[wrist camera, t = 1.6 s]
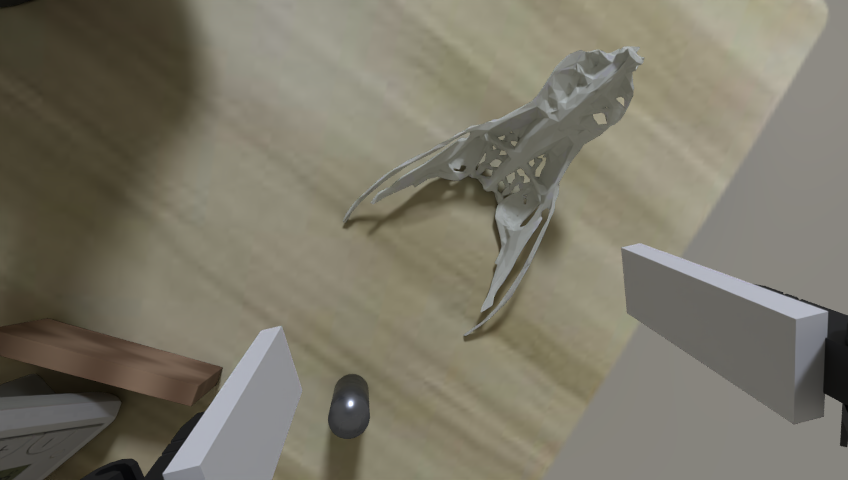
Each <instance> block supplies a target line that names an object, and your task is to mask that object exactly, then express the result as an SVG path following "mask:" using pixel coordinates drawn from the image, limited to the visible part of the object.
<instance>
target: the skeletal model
mask: <svg viewBox="0 0 848 480" xmlns="http://www.w3.org/2000/svg"><path fill="white" fill-rule="evenodd" d="M639 48H640V47H623V48H622V49H621V50H620V49H618V50H616V51H614V52H612V53H605V52H604V51H602V50H601V51H600V50H594V51H591V52H584V51H582V50H579V51H576V52H574V53H571V54H569V55H568V56H566V57H565V58H564V59H563V60H562V61H561V62H560V63H559V64H558V65H557V66H556V67H555V69H554V70H553V72H552V74H551V75H550V77H549V78H548V80H547V82H546V83H545V85H544V86H543V88H542V89H541V91H540V92H539V94H538V95H537V96H536V97H535V98H534V99H533V101H531V102H529V103H527V104H526V105H524V106H522V107H520V108H518V109H516V110H514V111H513V112H511V113H509V114H507V115H505V116H504V117H502V118H500V119H497V120H492V121H489V122H486V123H484V124H481V125H474V126H470V127H469V128H467V129H466V130H464V131H462V132H460V133H458V134H456V135H455V136H453V137H452V138H450V139H449V140H447V141H445V142H442V143H440V144H438V145H437V146H435V147H434V148H433V149H431V150H430V151H428V152H425V153H422V154H420V155H417V156H416V157H414V158H412V159H410V160H408V161H406V162H404V163H403V164H401V165H399V166H398V167H396V168H395V169H393V170H392V171H390V172H388V173H387V174H385V175H384V176H383V177H382V178H380V179H379V180H378V181H377V182H376V183H374V184H373V185H372V186H371V187H370V188H369V189H368V190H367V191H366V192H365V193H364V194H363V195H361V196H360V197H359V198H358V199H357V200H356V201H355V202H354V204H353V205H352V206H351V208H350V209H349V210H348V212H347V213H346V215H345V218H344V220H343V222H345V223H346V222H347V220H348V218H349V216H350V214H351V213H352V211H353V210H354V209H355V208H356V207H357V206H358V205H359V203H360V202H361V201H362V200H363V199H364V198H365V197H366V196H367V195H369V194H370V193H371V192H372V191H373V190H375V189H376V188H377V187H378V186H380V185H381V184H382V183H383V182H384V181H386V180H387V179H389V178H390V177H392V176H393V175H395V174H396V173H398V172H399V171H401V170H402V169H403V168H405V167H406V166H408V165H409V164H411V163H413V162H415V161H417V160H419V159H421V158H423V157H425V156H427V155H429V154H431V153H433V152H435V151H437V150H438V149H440V148H442V147H444V146H445V145H447V144H448V143H450V142H451V141H453V140H454V139H456V138H458V137H460V136H462V135H464V134H466V133H467V132H470V135H469V137H467V138H460V139H458V140H457V141H455V142H454V143H452V144H451V145H450V146H448V147H447V148H446V149H444V150H443V151H442V152H440V153H439V154H437V155H436V156H434V157H433V158H431V159H430V160H428V161H427V162H425V163H424V164H422V165H421V166H419V167H417V168H415V169H413V170H411V171H410V172H409V173H407V174H406V175H404V176H403V177H401V178H400V179H398V180H397V181H396V182H395V183H394V184H393V185H391V186H390V187H389V188H386V189H384V190H382V191H380V192H378V194H377V195H376V196H375V198H374V199H373V200H372V202H371V203H372V204H375V203H376V202H378V201H380V200H381V199H383V198H384V197H387V196H389V195H391V194H393V193H395V192H397V191H399V190H402V189H404V188H406V187H409V186H411V185H413V186H414V187H416V186H418V185H419V184H421V183H422V182H424V181H426V180H427V179H430V178H434V177H441V178H444V179H448V180H453V181H458V180H462V179H463V178H465V177H467V176H470V177H472V178H475V179H478V180H479V181H480V182H481V183H482V185H483V188H484V190H486V191H493V192H495V198H496V200H497V203H498V206H497V209H496V214H495V220H496V223H497V227H498V231H499V234H500V239H501V246H502V248H501V250H500V253H499V256H498V258H497V260H496V261H495V263H496V264H497V268H496V271H495V274H494V277H493V280H492V284H491V287H490V290H489V293H488V296H487V298H486V300H485V302H484V304H483V306H482V308H481V312H483V311H485V310H486V309H488V308H490V307H491V306H492V305H493V300H494V296H495V294H496V292H497V290H498V289H499V288H500V286H501V285H502V284H503V282H504V281H505V279H506V278H507V276H508V274H509V273H510V271H511V269H512V267H513V265H514V263H515V261H516V260H517V258H518V256H519V254H520V252H521V251H522V249H523V247H524V246H525V244H526V243H527V241H528V240H529V238H530V237H531V235H532V234H533V233H534V231H535V230H536V228H537V227H538V225H539V224H540V222H541V220H542V211H543V210H544V209H546V208H548V209H549V215H548V219H547V221H546V223H545V225H544V226H543V228H542V230H541V232H540V234H539V236H538V238H537V240H536V242H535V245H534V247H533V249H532V251H531V253H530V255H529V257H528V259H527V261H526V263H525V265H524V266H523V268H522V270H521V272H520V274H519V275H518V277H517V278H516V280H515V281H514V283H513V284H512V286H511V287H510V289H509V290H508V292H507V293H506V295H505V296H504V298H503V299H502V301H501V302H500V303H499V305H498V306H497V307H496V308H495V309H494V310H493V311H492V312H491V313H490V314H489V315H488V316H487V317H486V318H485V319H484V320H483V321H482V322H481V323H480V324H478V325H477V326H475V327H474V328H472V329H471V330H470V331H468V332H467V333H465V334H464V336H467V335H468V334H470V333H471V332H473V331H474V330H475V329H477V328H478V327H480V326H481V325H483V324H484V323H485V322H487V321H488V320H489V319H490V318H491V317H492V316H493V315H494V314H495V313H496V312H497V311H498V310H499V309H500V308H501V307H502V306H504V304H505V303H506V302H507V301H508V300H509V299H510V298H511V297H512V295H513V293H514V292H515V290H516V288H517V286H518V285H519V283H520V281H521V279H522V277H523V276H524V274H525V272H526V270H527V269H528V267H529V265H530V263H531V261H532V259H533V257H534V255H535V253H536V251H537V248H538V246H539V244H540V242H541V240H542V238H543V236H544V234H545V231H546V229H547V226H548V224H549V221H550V219H551V216H552V214H553V212H554V210H555V201H556V199H557V196H558V193H559V182H560V180H561V178H562V176H563V174H564V173H565V171H566V169H567V168H568V166H569V165H570V163H571V161H572V160H573V159H574V157H575V156H576V155H577V154H578V152H579V151H580V150H581V148H582V147H583V145H584V144H586V143H587V142H589V141H591V140H593V139H594V138H596V137H598V136H600V135H601V134H602V133H603V132H604V131H606V130H607V129H608V128H609V127H610V126H612V125H614V124H616V123H617V122H618V121H619V120H621V118H622V117H623V115H624V114H625V112H626V110H627V108H628V106H629V104H630V101H631V99H632V97H633V90H634V86H633V76H632V72H633V71H636V69H637V67H638V66H639V65H641V64H642V63H643V60H644V58H643V57H641V56H638V55H637V53H636V52H637V51H638V49H639ZM618 97H622V98H624V106H623V105H622V104H620V103H619V102H618V101H617V100H616V98H618ZM606 106H607V108H606ZM597 113H604V114H605V117H606V121H607V124H601V125H598V124H597V122H596V121H595V120H594V118H593V114H597ZM511 131H512V132H513V133H510V132H511ZM503 135H505V136H506V137H505V138H504V140H499V139H498V137H500V136H503ZM510 141H516V142H518V143H517V144H516V146H513V145H512V144H511V142H510ZM493 145H494V146H495V147H496V149H495V150H493ZM501 150H504V151H506V153H507V155H499V154H500V151H501ZM485 153H486V157H485V161H484V162H482V163H481V164H479V167H478V169H477V170H476V171H475V169H476V167H477V164H478V163H479V162H480V160H481V159H482V157H483V155H484V154H485ZM543 154H545V155H544V156H543V157H546V163H545V166H544V168H543V169H542V171H541V174H540V177H535V171H536V168H537V167H538V166H539V165H540V163H541V162H542V158H537V157H538V156H540V155H543ZM495 159H498V160H501V161H502V163H501V164H500V165H499V167H492V166H491V165H490V164H489V163H491V162H492V161H493V160H495ZM533 159H534V162H535V164H534V165H533V166H532V167H531V166H530V165H529V163H528V162H529V161H531V160H533ZM461 165H465V166H466V169H465V170H464V171H463V172H459V171H454V169H453V168H456V169H460V167H461ZM519 168H521V169H522V170H524V172H525V174H526V175H527V176H528V177H529V178H530V182H528V183H523V181H524V177H523V176H520V175H519V174H518V173H517V170H518V169H519ZM485 169H489V170H493V172H492V176H488V177H485V176H483V175H481V174H482V172H483V171H484V170H485ZM513 172H515V179H514V180H513V182H512V183H511V184H510V183H508V181H507V178H506V176H507V175H509V174H511V173H513ZM499 181H503V183H504V185H505V189H504V190H503V192H502V194H501V193H500V192H499V191H498V183H499ZM518 184H519V188H520V191H518V192H517V193H513V194H511V195H509V196H508V197H506V198H505V199H503V196H505V195H508V194H510V193H511V191H512V190H513V188H514V187H515V186H517V185H518ZM524 195H527V196H524ZM524 198H525V199H527V202H526V204H524ZM538 206H539V207H538ZM537 207H538V209H537V211H536V212H535V214H534V216H533V217H532V218H531V219H530V221H529V222H528V223H527V224H526V225H525V226H522V227H520V225H521V224H522V222H523V221H524V220H525V219H526V218H527V217H528V216H529V215H530V214H531V213H532V212H533V211H534V210H535V209H536V208H537ZM517 216H518V217H517ZM505 232H506V233H505Z"/></svg>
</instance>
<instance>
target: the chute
mask: <svg viewBox="0 0 848 480" xmlns="http://www.w3.org/2000/svg"><path fill="white" fill-rule="evenodd" d="M0 356H3V357H7V358H10V359H14V360H18V361H22V362H25V363H29V364H33V365H37V366H41V367H44V368H48V369H52V370H56V371H59V372H63V373H67V374H71V375H74V376H78V377H82V378H86V379H90V380H93V381H97V382H101V383H105V384H108V385H112V386H116V387H120V388H124V389H127V390H131V391H135V392H139V393H142V394H146V395H150V396H154V397H157V398H161V399H165V400H169V401H173V402H176V403H180V404H184V405H188V406H192V405H193V404H194V403H195V402H197V401H198V400H199V399H200V398H201V397H202V396H204V395H205V394H206V393H207V392H208V391H210V390H211V389H212V388H213V387H214V386H215V385H216V384H217V381H218V379H219V376H220V373H221V371H222V368H223V367H219V366H216V365H212V364H208V363H205V362H201V361H198V360H194V359H191V358H187V357H183V356H180V355H176V354H173V353H169V352H166V351H162V350H158V349H155V348H151V347H148V346H144V345H141V344H137V343H134V342H130V341H126V340H123V339H119V338H116V337H112V336H109V335H105V334H101V333H98V332H94V331H91V330H87V329H84V328H80V327H76V326H73V325H69V324H66V323H62V322H59V321H55V320H51V319H48V318H47V319H41V320H36V321H30V322H24V323H19V324H13V325H8V326H2V327H0Z"/></svg>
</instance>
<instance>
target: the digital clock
mask: <svg viewBox="0 0 848 480" xmlns="http://www.w3.org/2000/svg"><path fill="white" fill-rule="evenodd" d="M120 405H121V401H120V399H119V398H118V397H117V396H115V395H113V394H109V393H105V392H84V393H67V394H56V393H55V392H54V391H53V390H52V389H51V388H50V387H49V386H48V385H47V384H46V383H45V382H44V381H43V380H42V378H41V377H40V376H38V375H37V374H30V375H27V376H25V377H22V378H19V379H16V380H13V381H10V382H7V383H4V384H1V385H0V480H43V479H44V478H46V477H47V476H48V475H49V474H51V473H52V472H53V471H54V470H55V469H57V468H58V467H59V466H60V465H61V464H63V463H64V462H65V461H66V460H67V459H69V458H70V457H71V456H72V455H73V454H75V453H76V452H77V451H78V450H79V449H81V448H82V447H83V446H84V445H86V444H87V443H88V442H89V441H90V440H92V439H93V438H94V437H95V436H96V435H98V434H99V433H100V432H101V431H102V430H103V429H105V428H106V427H107V426H108V425H109V424H110V423H112V422H113V421H114V420H115V418H116V416H117V413H118V411H119V408H120Z"/></svg>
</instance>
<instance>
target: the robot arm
mask: <svg viewBox="0 0 848 480" xmlns="http://www.w3.org/2000/svg"><path fill="white" fill-rule="evenodd" d="M27 1H30V0H0V7H7V6H12V5H17V4H21V3H24V2H27ZM621 251H622V262H623V273H624V284H625V296H626V307H627V313H628V314H629V315H631V316H632V317H634V318H635V319H637V320H638V321H640V322H641V323H643V324H644V325H646V326H647V327H649V328H650V329H652V330H654V331H655V332H657V333H658V334H659V335H661V336H662V337H664V338H665V339H667V340H668V341H670V342H671V343H673V344H674V345H676V346H677V347H679V348H680V349H682V350H683V351H685V352H686V353H688V354H689V355H691V356H692V357H694V358H695V359H697V360H698V361H700V362H701V363H703V364H704V365H706V366H707V367H709V368H710V369H712V370H713V371H715V372H716V373H718V374H719V375H721V376H722V377H724V378H725V379H727V380H728V381H730V382H731V383H733V384H734V385H736V386H737V387H739V388H740V389H742V390H743V391H745V392H746V393H748V394H749V395H751V396H752V397H753V398H755V399H756V400H758V401H760V402H761V403H763V404H764V405H765V406H767V407H768V408H770V409H771V410H773V411H774V412H776V413H778V414H779V415H780V416H782V417H783V418H785V419H786V420H788V421H789V422H791V423H792V424H798V423H801V422H805V421H809V420H813V419H817V418H821V417H824V399H825V394H827V395H829V396H830V397H832V398H834V399H836V400H838V401H840V402H841V403H843V405H842V422H841V423H842V424H841V440H840V446H844V447H847V444H848V315H845V314H842V313H839V312H836V311H834V310H831V309H828V308H825V307H822V306H819V305H817V304H814V303H811V302H808V301H805V300H803V299H801V300H799V299H798V298H797V297H794V296H791V295H789V294H783V292H780V291H777V290H775V289H772V288H769V287H766V286H761V285H756V284H751V283H748V282H746V281H743V280H740V279H737V278H734V277H731V276H729V275H726V274H724V273H721V272H718V271H715V270H713V269H710V268H707V267H704V266H701V265H699V264H696V263H693V262H690V261H688V260H685V259H682V258H679V257H677V256H674V255H671V254H668V253H666V252H663V251H660V250H657V249H655V248H652V247H649V246H646V245H644V244H641V243H639V244H635V245H631V246H626V247H622V248H621ZM301 393H302V388H301V385H300V382H299V378H298V375H297V372H296V369H295V366H294V363H293V359H292V356H291V353H290V350H289V347H288V344H287V341H286V337H285V334H284V331H283V328H282V326H279V327H274V328H270V329H266V330H261V331H260V333H259V334H258V336H257V337H256V339H255V340H254V342H253V343H252V345H251V346H250V347H249V349H248V350H247V352H246V353H245V355H244V356H243V358H242V359H241V361H240V362H239V363H238V365H237V366H236V368H235V369H234V371H233V372H232V374H231V375H230V377H229V378H228V379H227V381H226V382H225V384H224V385H223V387H222V388H221V390H220V391H219V393H218V394H217V395H216V397H215V398H214V400H213V401H212V403H211V404H210V406H209V407H208V409H207V410H206V411H205V412H201V413H197V414H196V415H195V416H194V417H193V418H191V419H190V420H189V421H188V422H187V423H186V424H185V425H183V426H182V427H181V428H180V430H179V431H178V432H177V434H176V435H175V437H174V438H173V439H172V441H171V444H169V445H168V446H167V447H166V449H165V450H164V451H163V453H162V456H160V457H159V458H158V460H157V461H156V462H155V464H154V465H153V466H152V468H151V469H150V471H149V472H148V473H147V475H146V476H145V477H144V476H143V473H142V471H141V469H140V467H139V465H138V462H136V461H135V460H133V459H121V460H118V461H115V462H112V463H109V464H107V465H105V466H103V467H100V468H98V469H96V470H94V471H93V472H91V473H90V474H88V475H87V476H85V477H84V478H82V479H80V480H272V477H273V474H274V471H275V468H276V466H277V463H278V460H279V457H280V454H281V451H282V448H283V445H284V442H285V439H286V436H287V434H288V431H289V428H290V425H291V422H292V419H293V416H294V413H295V410H296V407H297V404H298V402H299V399H300V396H301Z"/></svg>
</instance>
